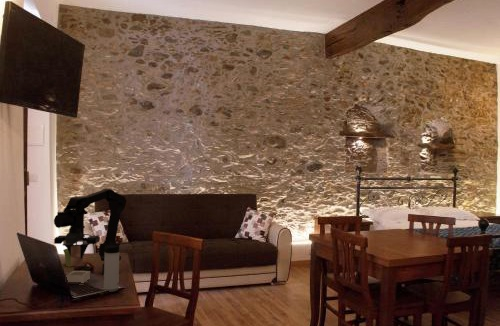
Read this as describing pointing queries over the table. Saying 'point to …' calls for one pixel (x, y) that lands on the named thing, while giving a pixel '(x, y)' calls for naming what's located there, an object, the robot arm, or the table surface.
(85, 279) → the socket block
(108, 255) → the travel mug
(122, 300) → the table surface
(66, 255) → the plant pot
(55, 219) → the robot arm
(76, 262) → the peg
